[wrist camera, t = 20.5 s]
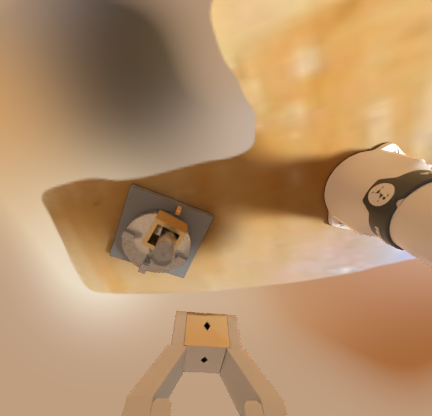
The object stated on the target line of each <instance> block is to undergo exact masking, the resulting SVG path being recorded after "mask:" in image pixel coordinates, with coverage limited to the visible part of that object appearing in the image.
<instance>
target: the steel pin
mask: <svg viewBox="0 0 432 416" xmlns="http://www.w3.org/2000/svg"><path fill="white" fill-rule="evenodd" d="M177 237H178V234H177V233H175V232H173V231H171V230H169V229H167V228H165V227H163V228H162V231H161V233H160V236H159V238H158V241H157V243H156V246H155V248H154V251H153V253H152V256H151V259H152V261H153V263H154V264H156V265H158V266H167V265H169V264H170V263H171V261H172V258H173V254H174V249H175V245H176V241H177Z"/></svg>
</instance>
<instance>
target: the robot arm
mask: <svg viewBox="0 0 432 416" xmlns="http://www.w3.org/2000/svg"><path fill="white" fill-rule="evenodd" d="M431 167H432V165H430V164H429V163H426V162H425V160H423V159H421V158H417V157H413V156H408V155H405V153H404V152H403V151H402V150H401V149H400V148H399V147H398V146H397V145H396V144H394V143H385V144H383V145H381V146H379V147H378V148H376V149H374V150H371V151H365V152H361V153H357V154H355V155H353V156H351V157H349V158H347V159H346V160H344V161H343V162H342V163H341V164H339V165H338V166H337V167H336V169H335V170H334V171H333V172H332V174H331V175H330V177H329V179H328V181H327V184H326V187H325V193H324V198H325V203H326V206H327V208H328V211H329V216H328V222H329V224H330V225H332V226H334V227H339V228H344V229H349V230H353V231H355V232H356V233H358V234H360V235H362V236H363V235H367V236H373V237H379V238H380V239H381V240H383V241H384V242H386V243H387V244H390V245H391V246H393V247H395V248H397V249H400V250H405V251H406V252H408V253H410V254H411V255H413V256H414V257H416V258H417V259H419V260H420V261H422V262H423V263H425V264H427V265H428V266H430V267H431V268H432V169H430V168H431ZM339 222H340V223H339ZM183 372H206V373H220V376H221V378H222V380H223V382H224V384H225V386H226V388H227V390H228V393H229V395H230V397H231V398H232V400H233V403H234V405H235V407H236V409H237V411H238V413H239V415H240V416H288V415H287V411H286V408H285V404H284V401H283V399H282V398H281V397H280V395H279V394H278V393H277V391H276V390H275V389H274V387H273V386H272V385H271V383H270V382H269V380H268V379H267V378H266V376H265V375H264V374H263V372H262V371H261V370H260V368H259V367H258V366H257V364H256V363H255V362H254V360H253V359H252V358H251V356H250V355H249V354H248V352H247V351H246V350H245V349H242V345H241V339H240V333H239V328H238V321H237V317H236V315H225V314H210V313H207V314H205V313H195V312H185V311H177V312H176V316H175V322H174V329H173V335H172V342H171V345H168V346H167V347H166V348H165V349H164V351H163V352H162V353H161V354H160V356H159V357H158V358H157V359H156V361H155V362H154V363H153V364H152V366H151V367H150V368H149V369H148V371H147V372H146V373H145V374H144V376H143V377H142V378H141V379H140V381H139V382H138V383H137V384H136V386H135V387H134V388H133V389H132V391H131V392H130V393H129V394H128V396H127V398H126V402H125V405H124V409H123V412H122V416H170V411H171V402H170V401H169V399H168V398H169V396H170V395H171V393H172V391H173V389H174V388H175V386H176V384H177V383H178V381H179V379H180V377H181V376H182V374H183Z"/></svg>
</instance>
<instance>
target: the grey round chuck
mask: <svg viewBox="0 0 432 416" xmlns="http://www.w3.org/2000/svg"><path fill="white" fill-rule="evenodd" d="M163 227H165V228H167V229H169V230H171V231H173V232H175V233H177V234H178V237H177V241H176V245H175V249H174V254H173V258H172V261H171V263H170V264H169V265H167V266H158V265H156V264H154V263H153V261H152V259H151V256H152V253H153V251H154V248H155V246H156V243H157V241H158V238H159V236H160V233H161V231H162V228H163ZM121 237H122V247H123V250H124V253H125V255H126V256H127V258H128V259H129V260H130V261H131V262H132V263H133V264H134V265H136V266H137V267H139V269H138V272H141V273H143V274H144V273H145V272H146V271H150V272H158V273H160V272H168V271H171V270H174V269H176V268H178V267H179V266H181V265H183V266H184V264H185V263H186V262H187V258H188V255H189V251H190V244H191V234H190V230H189V228H188V224H187V223H185V222H184V221H183V220H182V219H181V218H180V217H179V216H177V215H176V214H174V213H172V212H169V211H165V210H158V209H157V210H148V211H145V212H143V213H140V214H139V215H137V216H136V217H135V218H134V219H133V220H132V221H131V223H130V224H129V225H128V227H127V228H126V229H125V231H124V232H123V234H122V236H121Z"/></svg>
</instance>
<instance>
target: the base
mask: <svg viewBox="0 0 432 416" xmlns="http://www.w3.org/2000/svg"><path fill="white" fill-rule="evenodd" d="M157 209H158V210H165V211H169V212H172V213H174V214H176V215H177V216H179V217H180V218H181V219H182V220H183V221H184V222H185V223H187V224H188V228H189V230H190V234H191V244H190V251H189V255H188V258H187V262H186V263H185V264H184V266H183V265H181V266H179V267H178V268H176V269H174V270H171V271H168V272H165V273H169V274H172V275H175V276H178V277H182V278H184V277H185V275H186V273H187V271H188V269H189V267H190V265H191V262H192V260H193V258H194V256H195V254H196V252H197V250H198V248H199V246H200V244H201V242H202V240H203V238H204V236H205V234H206V232H207V230H208V228H209V226H210V224H211V222H212V220H213V214H210V213H207V212H205V211H202V210H200V209H197V208H194V207H192V206H189V205H187V204H184V203H182V202H179V201H176V200H174V199H171V198H169V197H166V196H163V195H161V194H158V193H156V192H153V191H150V190H148V189H145V188H143V187H140V186H138V185H135V184H132V185H131V186H130V189H129V192H128V195H127V199H126V202H125V205H124V209H123V212H122V215H121V219H120V222H119V226H118V229H117V232H116V236H115V239H114V242H113V246H112V249H111V252H110V256H113V257H116V258H120V259H123V260H126V261H129V262H131V261H130V260H129V259H128V258H127V256H126V255H125V253H124V250H123V247H122V237H121V236H122V234H123V232H124V231H125V229H126V228H127V227H128V225H129V224H130V223H131V221H132V220H133V219H134V218H135V217H136V216H137V215H139V214H140V213H143V212H145V211H148V210H157Z"/></svg>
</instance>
